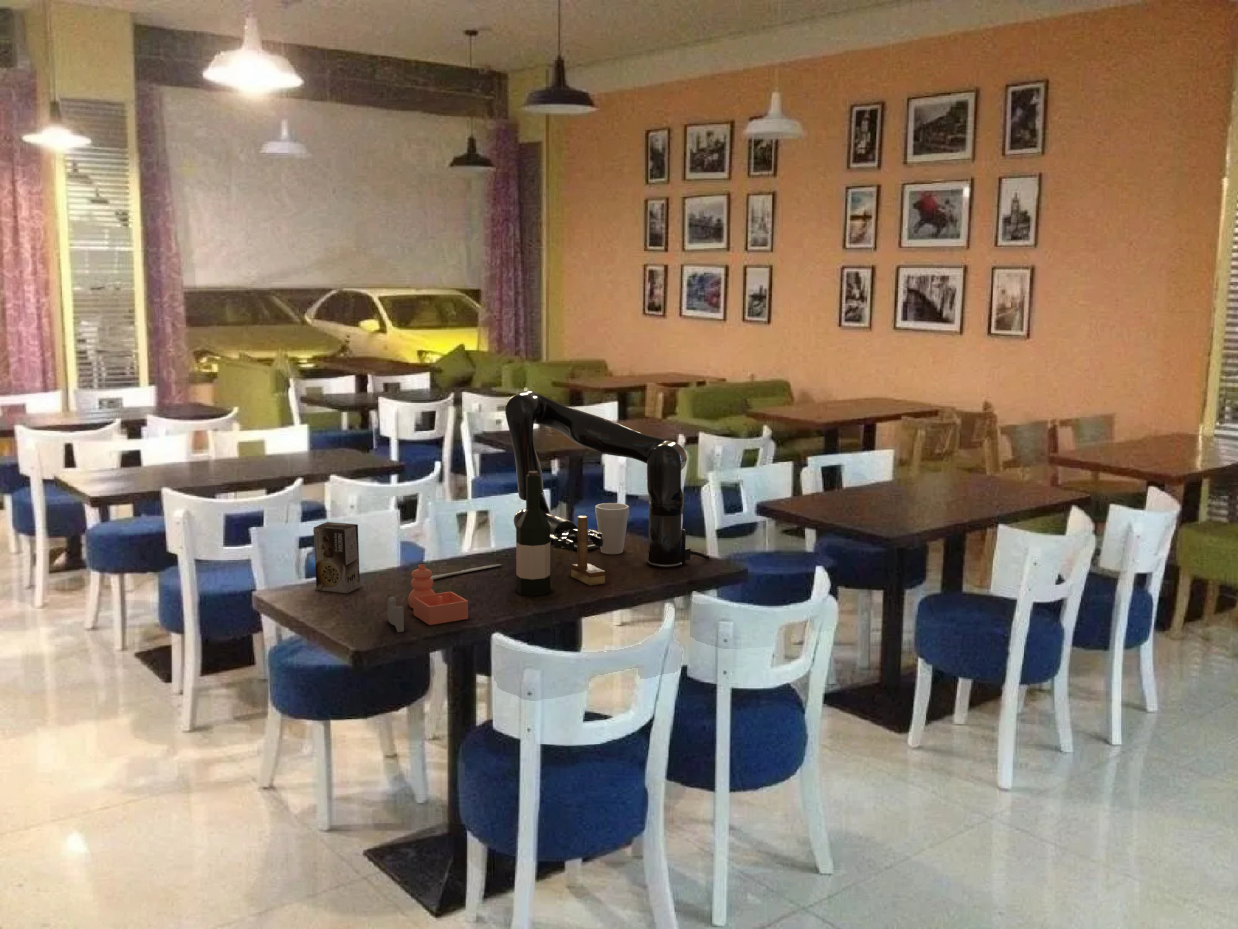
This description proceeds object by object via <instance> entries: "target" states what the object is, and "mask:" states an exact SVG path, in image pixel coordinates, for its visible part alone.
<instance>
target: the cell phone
mask: <svg viewBox="0 0 1238 929" xmlns="http://www.w3.org/2000/svg"><path fill="white" fill-rule="evenodd" d="M594 549H600V547H599V546H596V545H594V544H588V545H587V551H589V550H594ZM574 550H576V551H577V545H575V544H574Z"/></svg>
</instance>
